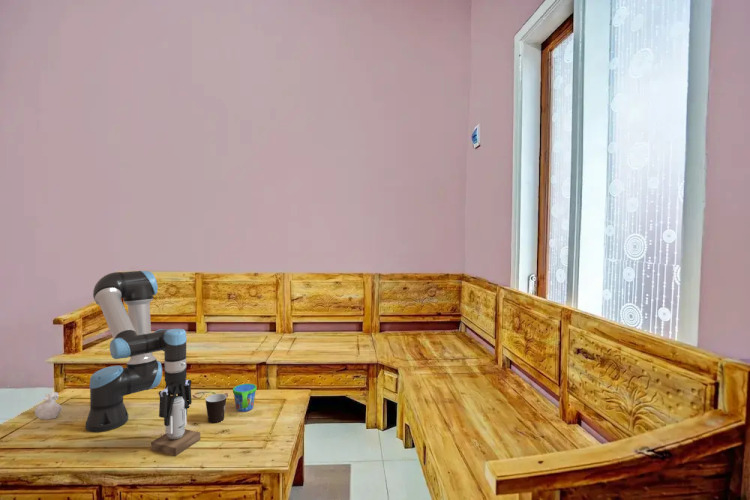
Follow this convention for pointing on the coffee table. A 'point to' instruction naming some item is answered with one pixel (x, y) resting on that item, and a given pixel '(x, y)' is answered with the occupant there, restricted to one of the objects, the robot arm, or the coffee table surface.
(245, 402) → the snack cup
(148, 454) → the coffee table surface
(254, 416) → the coffee table surface
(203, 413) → the coffee table surface
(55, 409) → the tied plastic bag
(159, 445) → the walnut board
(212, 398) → the coffee mug
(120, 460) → the coffee table surface
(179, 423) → the energy drink can
